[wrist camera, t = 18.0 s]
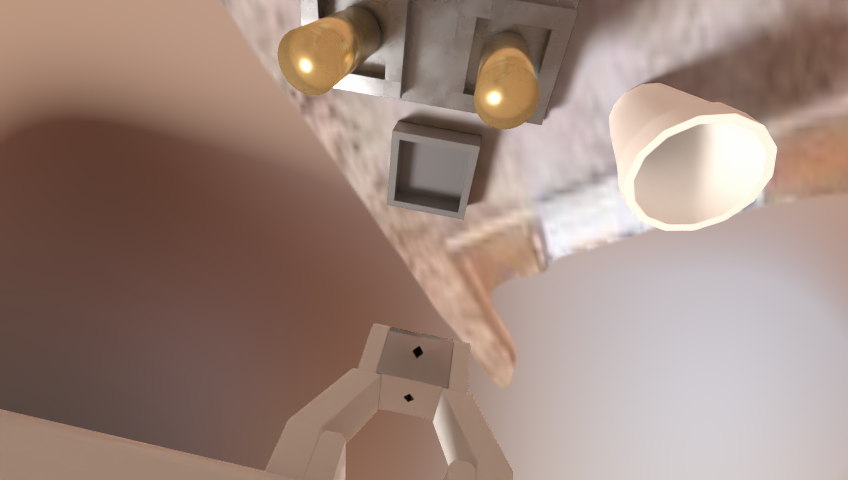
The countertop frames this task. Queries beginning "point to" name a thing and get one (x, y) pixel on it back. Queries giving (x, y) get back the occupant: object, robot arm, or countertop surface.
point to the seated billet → (506, 82)
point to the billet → (328, 49)
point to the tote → (431, 169)
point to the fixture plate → (451, 46)
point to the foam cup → (687, 157)
